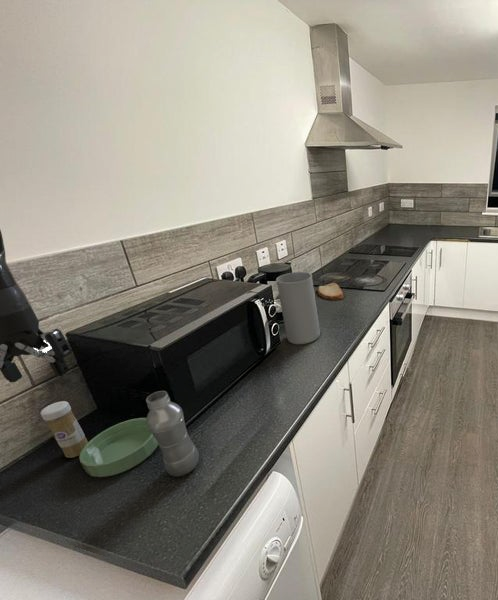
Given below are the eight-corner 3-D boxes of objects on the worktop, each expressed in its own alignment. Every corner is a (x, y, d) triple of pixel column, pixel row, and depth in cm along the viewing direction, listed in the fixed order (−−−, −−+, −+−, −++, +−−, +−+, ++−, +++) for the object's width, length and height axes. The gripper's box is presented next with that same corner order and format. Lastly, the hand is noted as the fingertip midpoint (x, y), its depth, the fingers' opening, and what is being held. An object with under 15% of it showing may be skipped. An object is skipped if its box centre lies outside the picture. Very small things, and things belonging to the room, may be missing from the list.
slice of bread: (341, 300, 160) (340, 293, 159) (308, 298, 164) (307, 291, 163) (354, 288, 176) (353, 281, 175) (324, 286, 180) (323, 280, 179)
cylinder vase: (290, 348, 119) (278, 285, 110) (285, 334, 130) (274, 275, 120) (323, 340, 124) (314, 279, 114) (316, 327, 135) (308, 270, 125)
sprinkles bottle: (63, 461, 75) (36, 417, 70) (68, 448, 79) (43, 405, 73) (88, 453, 77) (64, 409, 72) (93, 440, 81) (70, 397, 76)
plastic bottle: (170, 486, 68) (137, 413, 60) (166, 466, 73) (135, 395, 65) (204, 469, 72) (177, 397, 64) (198, 450, 77) (173, 382, 69)
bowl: (70, 484, 69) (62, 471, 68) (111, 435, 82) (105, 423, 81) (143, 471, 72) (137, 458, 70) (172, 425, 85) (167, 413, 83)
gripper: (58, 298, 68) (89, 363, 74) (-23, 305, 65) (16, 371, 72) (28, 313, 61) (64, 383, 67) (-64, 321, 59) (-17, 393, 65)
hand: (39, 377), depth 70 cm, fingers open, 8 cm apart
